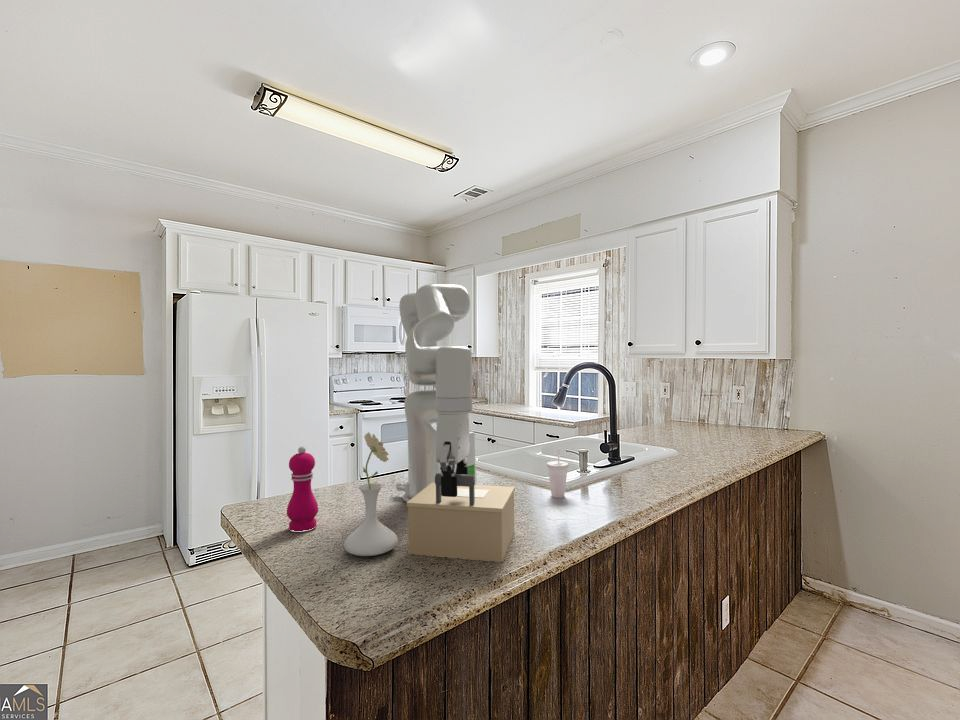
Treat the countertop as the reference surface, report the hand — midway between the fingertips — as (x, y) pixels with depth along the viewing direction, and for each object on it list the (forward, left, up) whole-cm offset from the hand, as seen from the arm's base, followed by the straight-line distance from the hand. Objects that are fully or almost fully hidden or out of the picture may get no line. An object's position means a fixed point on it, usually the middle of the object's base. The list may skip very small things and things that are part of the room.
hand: (455, 489), depth 98 cm
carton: (0, +7, -14) cm, 15 cm away
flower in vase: (-19, 0, -14) cm, 24 cm away
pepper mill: (-41, +8, -14) cm, 44 cm away
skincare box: (-16, +63, -14) cm, 66 cm away
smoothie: (+18, +47, -14) cm, 52 cm away
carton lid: (0, +7, -4) cm, 8 cm away
